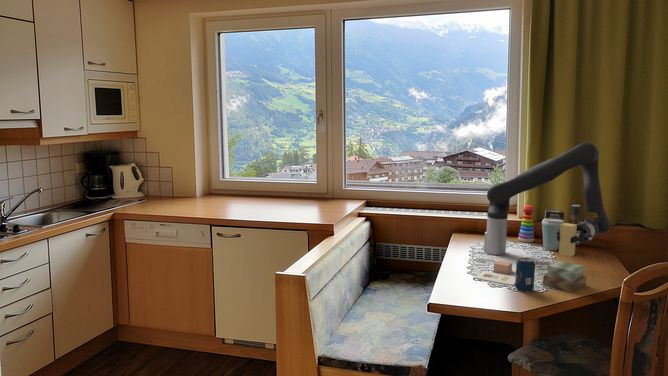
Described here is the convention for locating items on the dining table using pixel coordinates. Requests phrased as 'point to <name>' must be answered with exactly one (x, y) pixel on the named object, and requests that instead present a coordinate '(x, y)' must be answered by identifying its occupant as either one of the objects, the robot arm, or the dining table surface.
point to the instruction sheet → (496, 277)
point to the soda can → (525, 274)
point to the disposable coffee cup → (551, 233)
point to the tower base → (564, 283)
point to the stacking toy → (527, 225)
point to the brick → (502, 267)
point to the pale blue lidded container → (554, 214)
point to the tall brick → (567, 239)
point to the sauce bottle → (575, 216)
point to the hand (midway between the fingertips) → (565, 239)
